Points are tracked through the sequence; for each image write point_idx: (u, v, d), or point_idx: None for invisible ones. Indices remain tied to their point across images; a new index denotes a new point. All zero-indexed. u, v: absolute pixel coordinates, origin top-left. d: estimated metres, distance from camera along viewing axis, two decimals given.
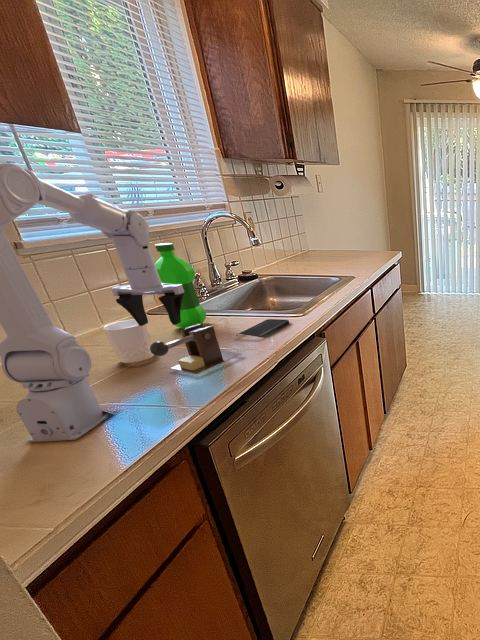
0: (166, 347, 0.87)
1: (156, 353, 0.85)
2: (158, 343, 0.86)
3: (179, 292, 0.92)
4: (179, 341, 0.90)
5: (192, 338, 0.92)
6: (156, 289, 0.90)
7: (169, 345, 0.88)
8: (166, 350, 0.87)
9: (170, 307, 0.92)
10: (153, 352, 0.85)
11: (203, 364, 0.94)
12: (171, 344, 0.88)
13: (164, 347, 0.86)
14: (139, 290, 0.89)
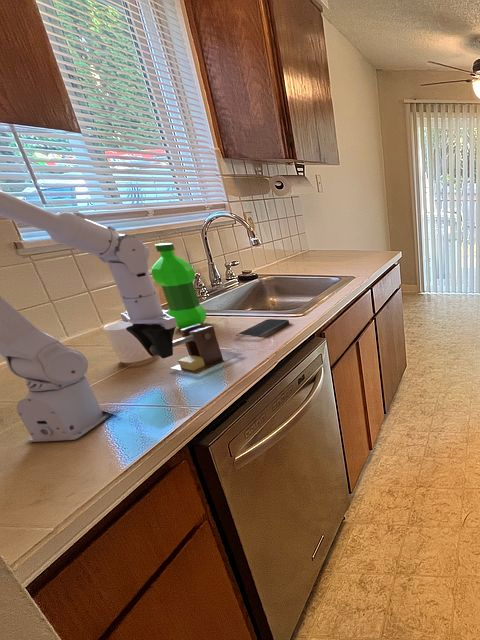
0: None
1: (156, 353, 0.85)
2: None
3: (169, 327, 0.81)
4: (179, 341, 0.90)
5: (192, 338, 0.92)
6: (147, 321, 0.81)
7: None
8: None
9: (154, 341, 0.83)
10: (153, 352, 0.85)
11: (203, 364, 0.94)
12: None
13: None
14: (132, 321, 0.81)
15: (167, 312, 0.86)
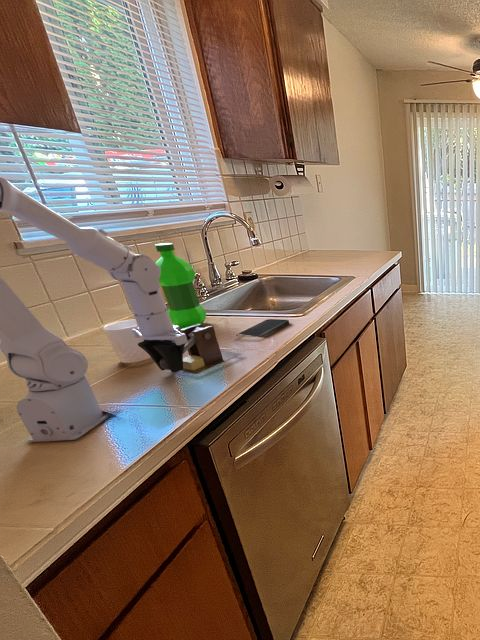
0: None
1: (168, 368, 0.88)
2: None
3: (180, 343, 0.84)
4: None
5: (194, 341, 0.93)
6: (159, 338, 0.83)
7: None
8: None
9: (165, 356, 0.85)
10: (165, 368, 0.88)
11: (203, 364, 0.94)
12: None
13: None
14: (144, 337, 0.83)
15: (177, 328, 0.89)
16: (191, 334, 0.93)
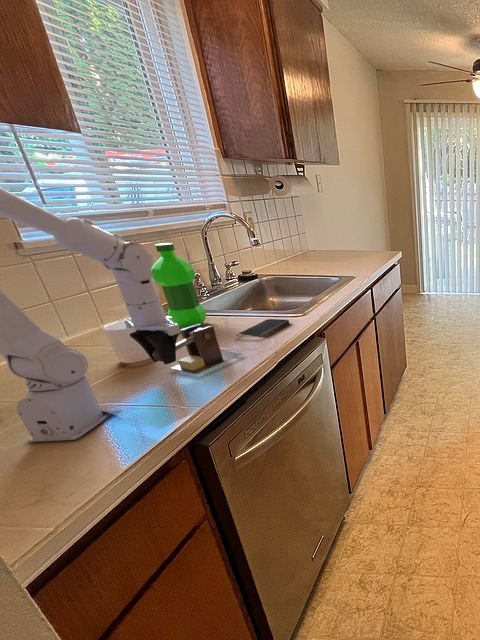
0: None
1: (159, 359, 0.86)
2: None
3: (172, 333, 0.82)
4: (180, 344, 0.90)
5: (193, 339, 0.93)
6: (151, 328, 0.82)
7: None
8: None
9: (157, 347, 0.84)
10: (157, 358, 0.86)
11: (203, 364, 0.94)
12: None
13: None
14: (136, 327, 0.82)
15: (170, 318, 0.87)
16: (191, 332, 0.93)
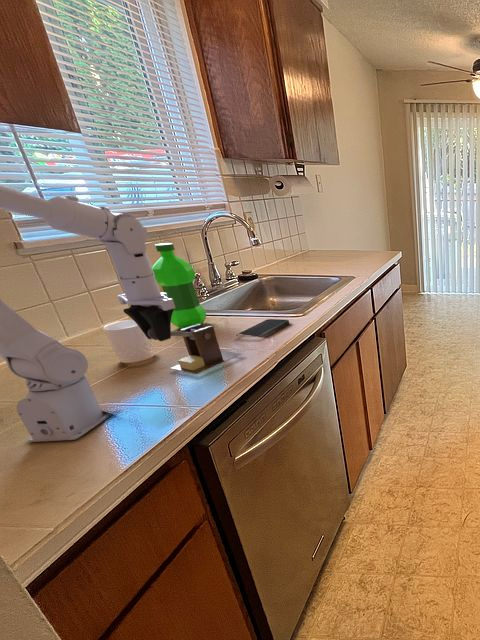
0: None
1: (152, 334, 0.84)
2: None
3: (167, 308, 0.80)
4: (178, 332, 0.89)
5: (191, 335, 0.92)
6: (145, 303, 0.80)
7: None
8: None
9: (152, 323, 0.82)
10: (150, 332, 0.84)
11: (203, 364, 0.94)
12: None
13: None
14: (130, 302, 0.80)
15: (165, 294, 0.85)
16: (194, 329, 0.93)
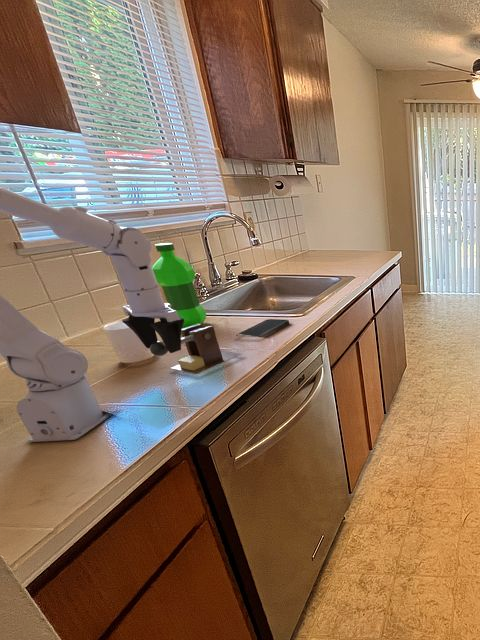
0: None
1: (156, 353, 0.85)
2: (158, 342, 0.86)
3: (171, 319, 0.81)
4: None
5: (192, 338, 0.92)
6: (149, 314, 0.81)
7: None
8: (166, 350, 0.87)
9: (162, 335, 0.82)
10: (153, 351, 0.85)
11: (203, 364, 0.94)
12: None
13: (164, 347, 0.86)
14: (134, 314, 0.81)
15: (169, 305, 0.86)
16: (192, 331, 0.93)
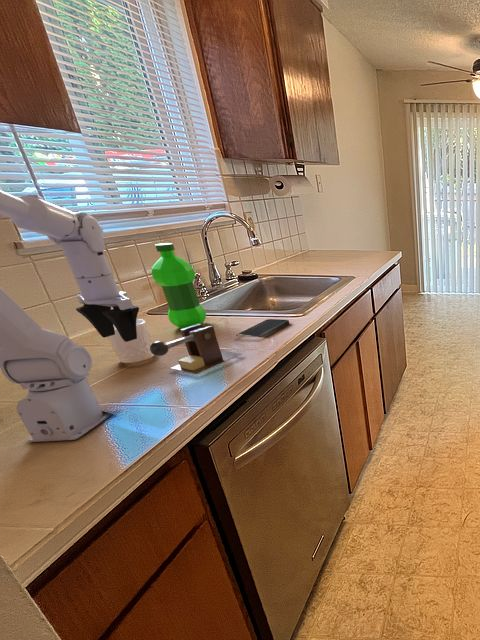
0: (166, 347, 0.87)
1: (156, 353, 0.85)
2: (158, 342, 0.86)
3: (124, 307, 0.80)
4: (179, 341, 0.90)
5: (192, 338, 0.92)
6: (101, 302, 0.80)
7: (169, 345, 0.88)
8: (166, 350, 0.87)
9: (115, 323, 0.81)
10: (153, 351, 0.85)
11: (203, 364, 0.94)
12: (171, 344, 0.88)
13: (164, 347, 0.86)
14: (86, 301, 0.80)
15: (124, 294, 0.85)
16: (192, 331, 0.93)
